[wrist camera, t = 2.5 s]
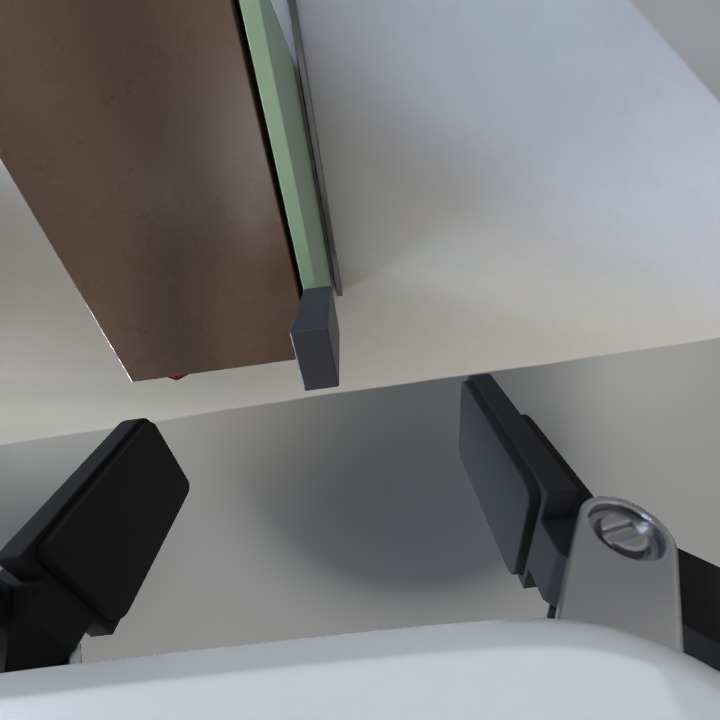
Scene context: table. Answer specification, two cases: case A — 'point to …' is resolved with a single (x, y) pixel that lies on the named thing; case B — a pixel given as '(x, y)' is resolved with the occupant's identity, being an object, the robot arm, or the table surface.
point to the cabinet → (156, 175)
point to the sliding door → (296, 196)
